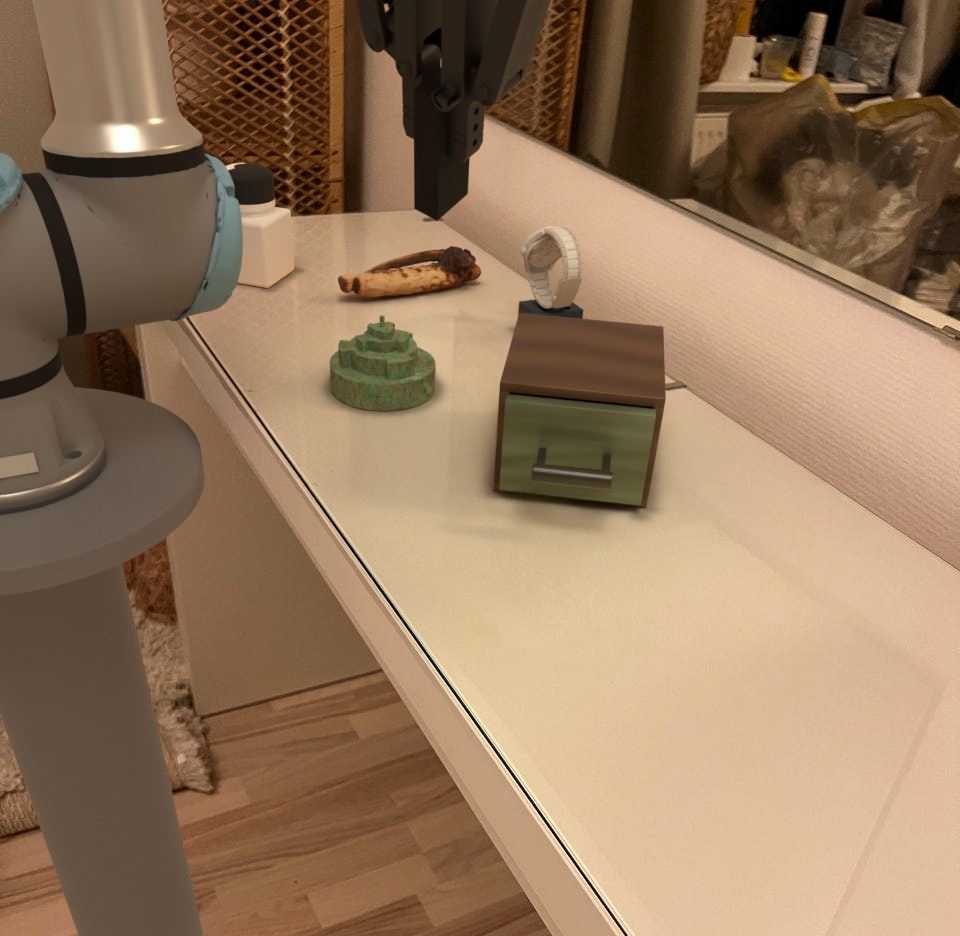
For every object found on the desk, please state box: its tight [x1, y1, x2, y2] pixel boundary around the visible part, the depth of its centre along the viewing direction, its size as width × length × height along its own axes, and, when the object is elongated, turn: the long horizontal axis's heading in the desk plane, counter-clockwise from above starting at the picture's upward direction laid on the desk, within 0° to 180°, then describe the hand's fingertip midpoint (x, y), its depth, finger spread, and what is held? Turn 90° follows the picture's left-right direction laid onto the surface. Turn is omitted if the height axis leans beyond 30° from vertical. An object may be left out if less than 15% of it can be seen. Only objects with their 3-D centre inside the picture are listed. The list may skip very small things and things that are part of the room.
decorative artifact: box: [329, 315, 436, 412], centre depth 93 cm, size 10×7×10 cm
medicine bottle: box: [224, 162, 296, 289], centre depth 114 cm, size 7×7×12 cm
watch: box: [517, 225, 584, 319], centre depth 105 cm, size 6×8×11 cm
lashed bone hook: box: [337, 245, 482, 298], centre depth 115 cm, size 9×5×18 cm
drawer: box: [499, 393, 656, 505], centre depth 80 cm, size 18×11×8 cm, turn 172°
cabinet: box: [492, 313, 667, 509], centre depth 83 cm, size 15×13×10 cm
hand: (441, 200), depth 52 cm, fingers closed
